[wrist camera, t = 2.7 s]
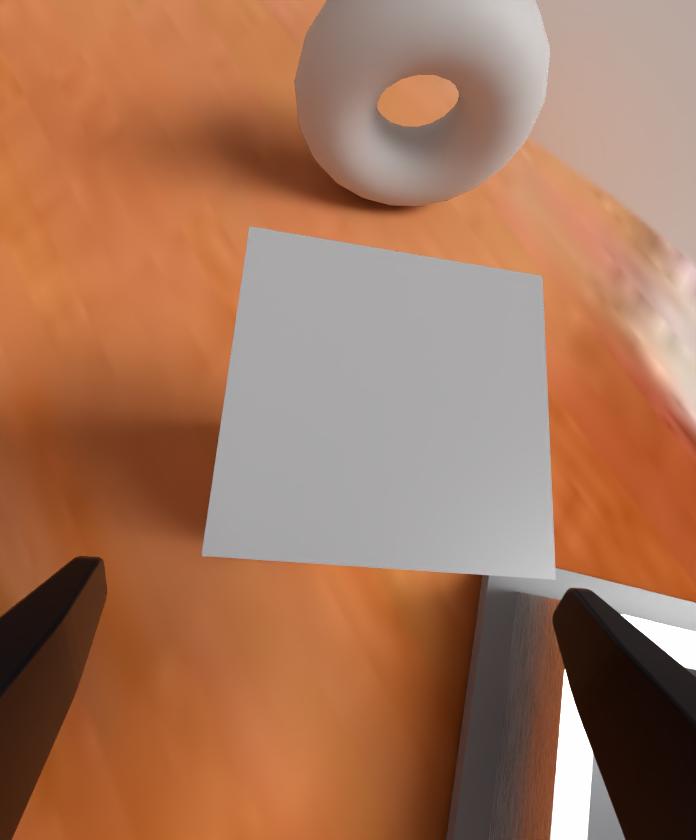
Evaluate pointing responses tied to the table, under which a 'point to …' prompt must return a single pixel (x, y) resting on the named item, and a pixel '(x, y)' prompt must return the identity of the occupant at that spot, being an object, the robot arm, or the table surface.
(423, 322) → the gray square block
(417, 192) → the donut
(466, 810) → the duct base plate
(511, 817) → the metal collar
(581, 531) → the table surface
